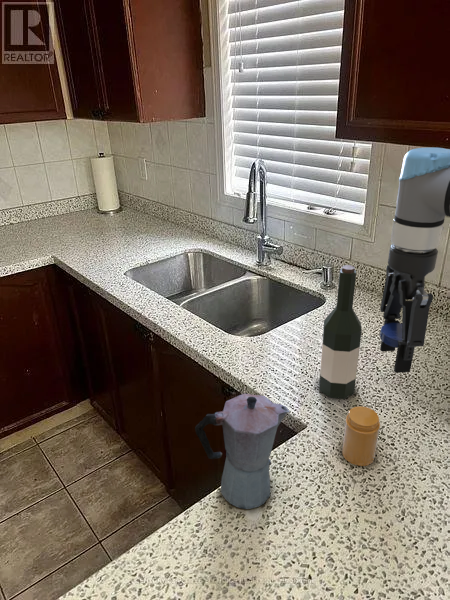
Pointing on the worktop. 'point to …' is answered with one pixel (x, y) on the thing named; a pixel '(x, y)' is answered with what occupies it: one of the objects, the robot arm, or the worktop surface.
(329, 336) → the wine bottle
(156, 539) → the worktop surface
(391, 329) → the jam lid
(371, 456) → the jam jar
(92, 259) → the worktop surface
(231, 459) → the moka pot
